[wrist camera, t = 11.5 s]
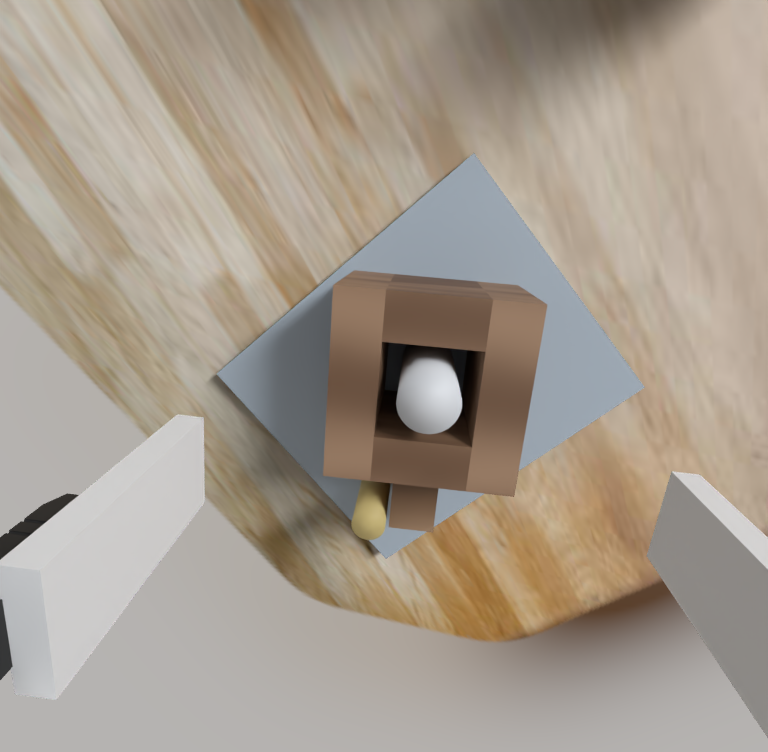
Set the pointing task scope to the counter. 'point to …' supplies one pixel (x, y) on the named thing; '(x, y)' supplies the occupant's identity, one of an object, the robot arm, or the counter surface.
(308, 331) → the post board
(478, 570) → the counter surface
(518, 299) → the tabbed square frame
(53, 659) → the robot arm
